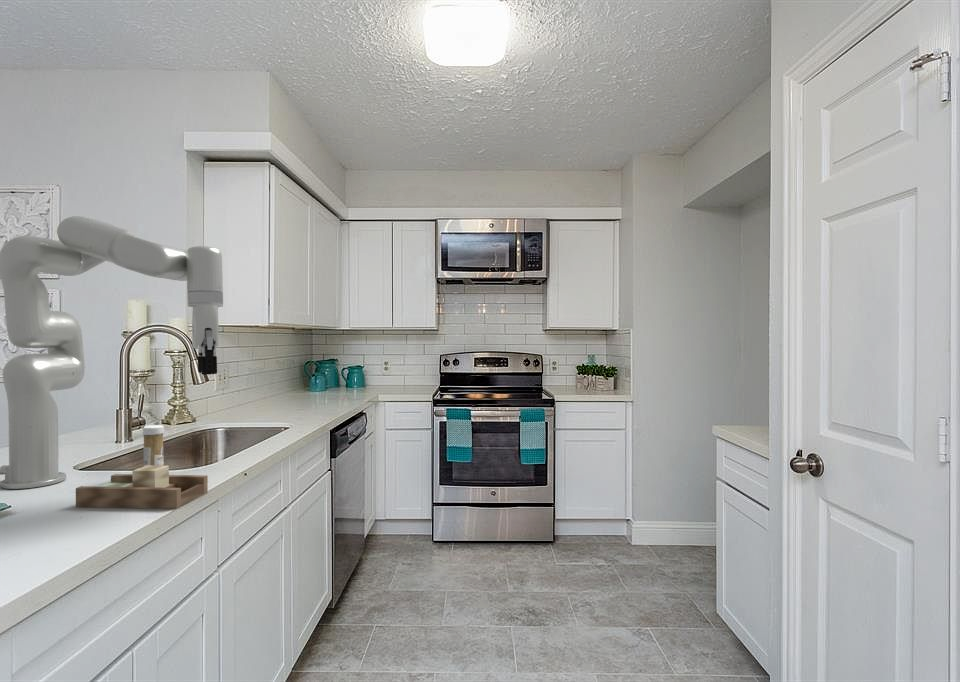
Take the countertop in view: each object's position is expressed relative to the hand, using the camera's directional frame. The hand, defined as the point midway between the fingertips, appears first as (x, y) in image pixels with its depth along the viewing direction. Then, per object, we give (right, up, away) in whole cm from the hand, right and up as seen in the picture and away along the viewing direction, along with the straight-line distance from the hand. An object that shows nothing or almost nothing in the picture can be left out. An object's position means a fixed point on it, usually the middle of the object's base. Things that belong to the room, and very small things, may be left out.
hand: (207, 373), depth 131 cm
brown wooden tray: (-10, -28, -8) cm, 30 cm away
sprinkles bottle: (-18, -28, +10) cm, 35 cm away
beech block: (-9, -25, -8) cm, 28 cm away
